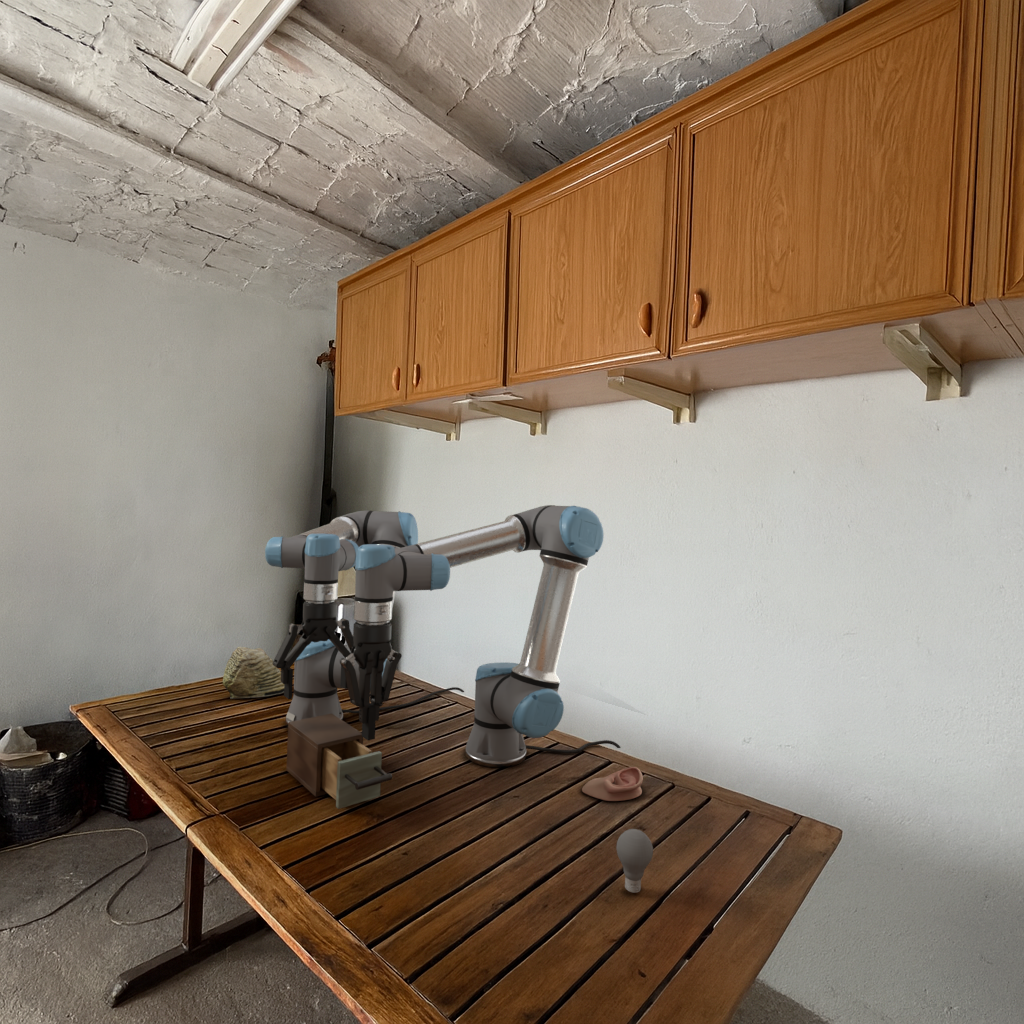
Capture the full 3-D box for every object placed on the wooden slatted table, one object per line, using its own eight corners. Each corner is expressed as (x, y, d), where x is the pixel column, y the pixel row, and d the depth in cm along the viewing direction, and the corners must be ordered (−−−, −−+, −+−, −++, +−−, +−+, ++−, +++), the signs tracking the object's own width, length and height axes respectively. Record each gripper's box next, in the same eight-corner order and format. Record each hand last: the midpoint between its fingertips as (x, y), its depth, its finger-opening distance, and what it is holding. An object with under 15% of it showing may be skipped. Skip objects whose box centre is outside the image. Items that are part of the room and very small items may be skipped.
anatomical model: (581, 779, 138) (585, 758, 149) (580, 797, 138) (585, 775, 149) (643, 787, 135) (643, 766, 147) (642, 806, 136) (642, 783, 147)
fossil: (218, 695, 195) (220, 647, 195) (278, 685, 208) (279, 640, 207) (228, 703, 189) (230, 653, 188) (289, 692, 201) (290, 645, 201)
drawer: (395, 807, 129) (396, 762, 128) (352, 821, 122) (354, 774, 122) (347, 771, 144) (349, 731, 144) (308, 782, 138) (309, 740, 138)
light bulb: (610, 879, 108) (613, 822, 108) (644, 879, 109) (647, 822, 109) (619, 902, 102) (622, 840, 102) (655, 901, 103) (658, 840, 103)
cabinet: (361, 783, 141) (363, 733, 140) (315, 797, 134) (317, 744, 133) (329, 759, 153) (331, 713, 152) (286, 770, 146) (288, 722, 145)
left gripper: (272, 607, 135) (268, 706, 135) (376, 599, 151) (373, 687, 152) (259, 602, 141) (256, 697, 141) (361, 595, 157) (358, 680, 157)
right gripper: (351, 627, 120) (346, 751, 121) (410, 621, 129) (405, 736, 129) (334, 621, 126) (329, 738, 126) (391, 615, 135) (387, 725, 135)
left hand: (316, 692), depth 146 cm, fingers open, 13 cm apart
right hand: (368, 737), depth 128 cm, fingers closed
